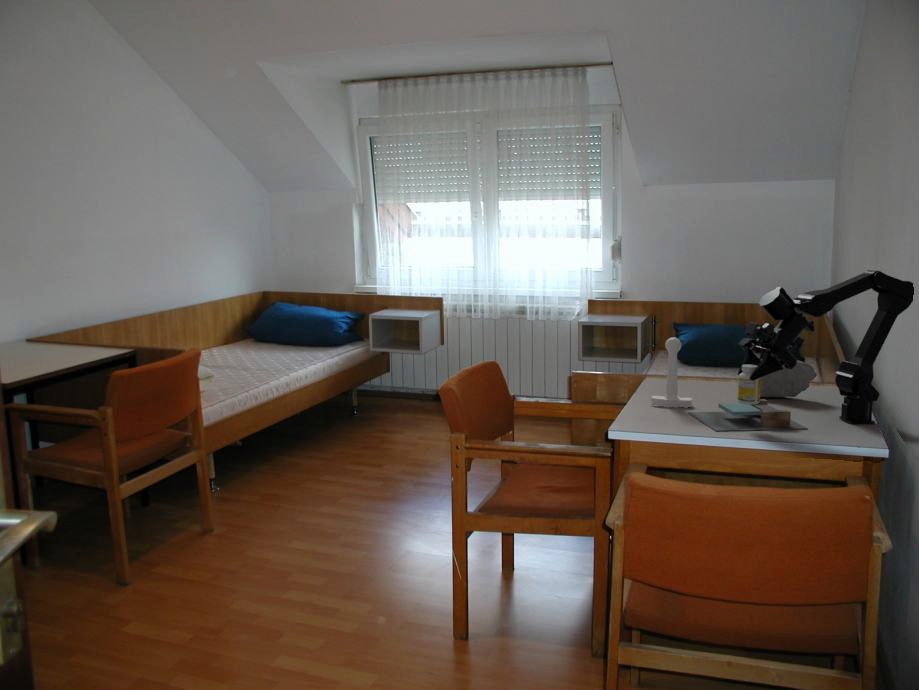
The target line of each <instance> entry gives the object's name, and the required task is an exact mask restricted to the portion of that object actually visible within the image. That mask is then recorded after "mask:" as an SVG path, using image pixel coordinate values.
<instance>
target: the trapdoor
mask: <svg viewBox="0 0 919 690" xmlns="http://www.w3.org/2000/svg"><path fill="white" fill-rule="evenodd" d="M718 408H719V409H721V410H723V411H726V412H728V413H730V414H731V415H733V416H738V415H759V416H761V411H767V410H778V409H777V408H775V407H773V406H771V405H769V404H768V405H767V404H765V405H753V406H751V405H749V404H742V403H739V402H723V403H718Z"/></svg>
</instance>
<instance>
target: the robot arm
mask: <svg viewBox="0 0 919 690" xmlns="http://www.w3.org/2000/svg"><path fill="white" fill-rule="evenodd" d="M913 284H914V283H913V282H912V281H910V280H901V279H899V278H896V277H895V276H892V275H889V274H887V273H884V272H882V271H881V270H872V269H871V270H870V269H868V270H865V271H863V272H862V273H860V274H857V275H856V276H854V277H850V278H849V279H846V280H844V281H841V282H839V283H836V284H835V285H832V286H830V287H828V288H824V289H817V290H811V291H807V292H803V293H800V294H798V296H797V297H795V298H792V297H791V296H790V295H789V294H788V293H787V292H786V290H785V289H784V287H781V286H777V287H775V289H773V290H770V291H769V292H767V293H766V294H763V296H762V297H761V298H760V299H759V301H758V304H759V306H760V307H761V308H762V309H763V310H764V311H765V312H766V313H767V315H768V316H769V317H770V318H771V319H772V320H773V321H779V322H778V323H777V325H775V326H774V325H773V324H771V323H768V322H765V323H764V324H763V325H762V324H760V323H755V322H752V321H751V322H749V323H748V326H747V328H746V329H745V332H744V334H745V335H747V336H751V337H754V338H755V339H756V340H755V339H754V338H753V339H752V338H749V337H746V338H745V337H743V338H742V339H741V340H740V341H739V342H738V345H739V346H740V347H741V349H742V350H744V357H743V359H742V363H741V365H740V367H739V369H738V372H737V375H738V376H739V375H740V374H741V373H743V371H742V365H746V364H750V365H757V368H756V369H755V370H754V372H753V373H752V374H751V376H750V379H751V380H752V381H753V380H756V379H758V378H761V377H763V376H765V375H768V374H771V373H773V372H776V371H779V370H783V369H784V368H783V367H782V366H783V365H784V364H785V365H784V367H785V368H786V369H789V370H792V369H793V368H794V367H795V366H796V365H797V360H798V359H797V358H796V357H795V356H794V355H793V354H792V352H791V351H790V350H789V349H788V348H789V347H791V348H794V346H796V342H795V341H796V340H797V338H798V337H799V336H800V335H801V334H802V333H803V332H804V331H808V332H813V333H814V332H815V326H814V325H815V321H814V320H809V319H808V318H807V317H806V316H808V317H813V318H820V317H823V316H824V315H826V314H828V313H829V312H830V311H832V310H833V309H834V307H835V306H836V305H838V304H839V303H841V302H844V301H846V300H849V299H850V298H853V297H855V296H857V295H860V294H862V293H865V292H867V291H869V290H872V291H874V292H875V293H878V294H877V309H876V312H875V314H874V316H873V317H872V320H871V322H870V325H869V326H868V328H867V330H866V332H865V334H864V336H863V338H862V339H861V340H862V341H861V342H860V344H859V346H858V349H857V351H856V352H855V354H854V356H853V357H852V358H851V359H850V360H849V361H847V360H842V361H841V362H840V364H839V368H838V370H837V371H836V372H835V373H834V374H835V375H836V376H835V380H834V382H835V385H836V387H837V388H838V392H839V395H840V396H843V402H842V403H841V409H840V411H841V414H840V415H839V419H840V420H842V421H845V422H846V423H849V424H855V425H857V424H859V425H860V424H875V423H876V421H875V420H873V419H872V417H873V408H874V407H873V404H874V402H877V401H878V399H879V396H880V392H879V391H878V390H877V389H876V388H875V386H874V385H873V384H872V383H873V380H874V364H875V362H876V360H877V358H878V357H879V354H880V352H881V350H882V348H883V346H884V344H885V342H886V340H887V338H888V335H889V334H890V332H891V330H892V328H893V326H894V324H895V322H896V320H897V318H898V317H899V316H900V314H902V313H903V312H905V311H906V310H907V309H908V308H909V307H910V306H911V304H912V303H913V302H914V300H913V295H914V287H913ZM790 352H791V353H790ZM760 359H762V361H761V360H760Z"/></svg>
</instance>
